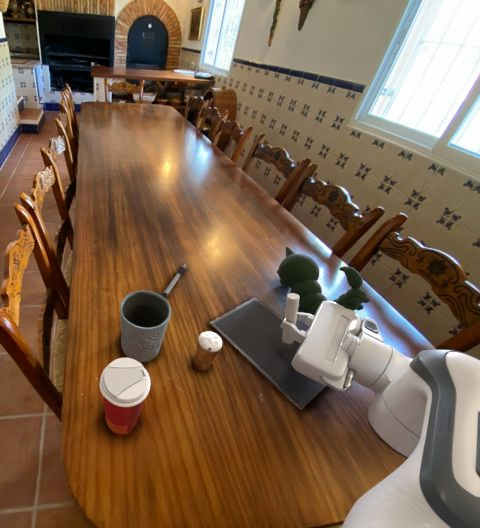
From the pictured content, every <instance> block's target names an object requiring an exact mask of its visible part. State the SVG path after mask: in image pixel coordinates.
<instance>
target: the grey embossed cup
mask: <svg viewBox="0 0 480 528" xmlns="http://www.w3.org/2000/svg"><path fill="white" fill-rule="evenodd" d="M119 315H120V317H119V319H120V326H121V327H120V331H121V335H120V345H121V346H120V347H121V351H122V352H123V354H124V356H126V358H131V359H134V360H136V361H138V362H140V363H148V362H150V361H152V360H154V359H155V358H156V357H157V356H158V355H159V352H160V351H161V346H162V343H163V341H164V338H165V334H166V331H167V328H168V324H169V322H170V319H171V317H172V316H171V315H172V308H171V305H170V303H169V302H168V300H167V299H166V298H164V297H162V295H160V294H159V293H157V292H155V291H151V290H136V291H132V292H130V293H128V294H127V295H126V296H124V297H123V298H122V300H121V302H120V306H119Z"/></svg>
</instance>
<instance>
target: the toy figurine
mask: <svg viewBox="0 0 480 528" xmlns="http://www.w3.org/2000/svg"><path fill="white" fill-rule="evenodd" d="M339 271H341V272H343V273H344V275H345V277H346V281H347V284H348V286H349V287H351V288H349V289H348V290H347V291H346V293H342V294H341V295H338V298H336V299H333V300H331V301H332V302H335V303H337V304H339V305H341V306H343V307H344V308H346V309H350V310H352V311H354V312H355V311H363V309H364V305H363V304H368V303H369V302H370V301H371V300H370V297H368V296H367V295H368V294H367V293H366V291H365V290H364V289H362V288H361V287H362V286H363V282H364V280H363V277H362V275H361V273H360V272H359V271H358V270H357V269H355V268H354V267H353V266H352V267H351V266H348V265H346V266H345V265H344V266H340V267H339ZM276 274H277V275H278V277H279V284H280V285H281V286H282V287H285V288H288V289H289V288H290V292H288V293H287V294H286V298H287V295H288V294H289V293H295V294H298V295H299V297H300V298H299V305H298V312H302V313H310V314H312V315H315V313H316V311H317V309H318V307H319V306H320V305H321V303H322V302H323V301H328V299H327V297H326V296H325V295H324V294H323V290H322V289H323V288H322V286H321V284H320V283H319V282H318V280H319V277H320V268H319V265H318V263H317V261H316V260H315V259H313V258H312V257H311V256H310V255H307V254H303V253H296V252H295V251H293V250H292V249H291V248H290V247H289V246H286V247H285V258H284V259H282V261H281V262H280V264H279V266H278V269H277V270H276Z"/></svg>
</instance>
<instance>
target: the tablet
mask: <svg viewBox="0 0 480 528" xmlns="http://www.w3.org/2000/svg"><path fill="white" fill-rule="evenodd" d="M283 320H284V318H283V317H282V316H280V315H279V314H278V313H276V311H274V310H273V309H271V308H270V307H268V305H266V304H265V303H264V302H262V301H261V300H260V299H258V297H256V296H254V297H252V298H250V299H249V300H247V301H245V302H243V303H242V304H240V305H238V306H236V307H234V308H233V309H230V310H229V311H228V312H226V313H224V314H222V315H221V316H219V317H217V318H216V319H214V320H212V321H210V322H209V324H208V326H209V327H211V329H213V330H214V331H215V333H216V334H217V335H218V336H219V337H220V338H221V339H223V340H224V341H225V342H227V344H229V346H231V347H232V348H233V350H235V351H236V353H238V354H239V355H240V357H242V358H243V359H244V360H245V361H246V362H247V363H248V364H249V365H250V366H251V367H253V368H254V370H256V371H257V373H259V374H260V375H261V377H263V378H264V379H265V380H266V381H267V382H268V383H269V384H270V385H272V387H273V388H275V390H277V391H278V393H280V395H282V396H283V397H284V398H285V399H286V400H287V401H288V402H290V404H291V405H292V406H294V407H295V408H296V409H297V410H298V412H301V411H302V410H303V409H304V408H305V407H306V406H307V405H308V404H309V403H310V402H311V401H312V400H314V398H315V397H316V396H317V395H319V393H320V392H322V391H323V390H324V389H325V388H326V387H328V386H327V385H324V384H322V383H319V382H317V381H315V380H313V379H311V378H309V377H307V376H305V375H303V374H301V373H299V372H298V371H296V370H295V369H294V367H293V366H292V364H291V362H292V360H293V358H294V356H295V354H296V352H297V350H298V348H299V346H300V344H301V343H299V342H297V341H295V340H294V342H293V347H291V348H286V347H284V346H283V345H282V336H283V329H282V328H281V327H280V325H281V324H282V322H283Z"/></svg>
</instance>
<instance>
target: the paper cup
mask: <svg viewBox="0 0 480 528" xmlns="http://www.w3.org/2000/svg"><path fill="white" fill-rule="evenodd" d="M98 386H99V390H100V393H101V395H102V397H103V407H104V414H105V421H106V425H107V427H108V428H109V430H110V431H112V432H113V433H115V434H116V435H117V434H118V435H126V434H129V433H130V432H132V430H134V429H135V427H136V425H137V422H138V420H139V417H140V414H141V411H142V408H143V405H144V401H145V399H146V398H147V397H148V395H149V393H150V390H151V378H150V375H149V372H148V370H147V369H146V368H145V367H144V365H143V364H142V362H138V361H136V360H134V359H131V358H129V357H119V358H116V359H114V360H113V361H111V362H110V363H109V364H108V365H107V366H105V367H104V369H103V370H102V373H101V375H100V380H99V384H98Z"/></svg>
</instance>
